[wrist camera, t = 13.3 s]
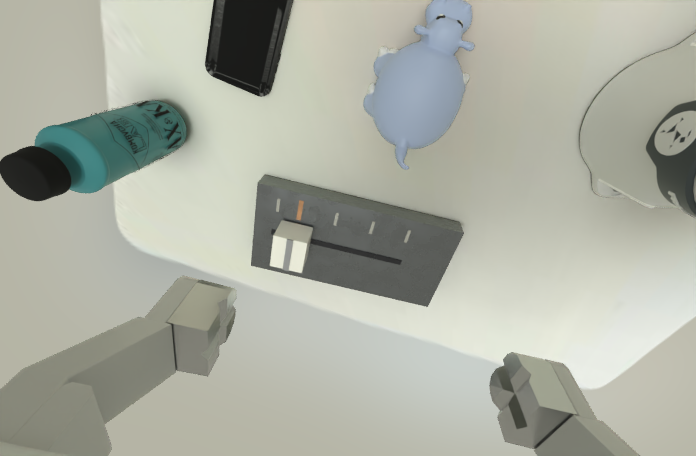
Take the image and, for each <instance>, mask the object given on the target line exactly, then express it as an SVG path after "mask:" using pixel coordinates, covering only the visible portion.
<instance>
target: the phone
mask: <svg viewBox="0 0 696 456" xmlns="http://www.w3.org/2000/svg"><path fill="white" fill-rule="evenodd" d="M292 3H293V0H214V3H213V10H212V17H211V25H210V32H209V39H208V46H207V54H206V61H205V67H206V70H207V72H208V73H209V74H210V75H211V76H213V77H215V78H217V79H219V80H222V81H224V82H227V83H229V84H231V85H234V86H236V87H238V88H241V89H243V90H245V91H248V92H250V93H252V94H255V95H257V96H260V97H262V96H265V95H267V94H269V93H270V91H271V88H272V84H273V82H274V76H275V73H276V70H277V66H278V62H279V59H280V55H281V54H280V52H281V48H282V44H283V40H284V36H285V32H286V28H287V24H288V20H289V16H290V12H291V7H292Z"/></svg>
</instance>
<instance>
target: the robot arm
mask: <svg viewBox="0 0 696 456" xmlns="http://www.w3.org/2000/svg"><path fill="white" fill-rule="evenodd" d="M580 149H581V154H582V156H583V159H584V161H585V162H586V164H587V166H588V167H589V169H590V171H591V173H592V189H593V191H594V193H595V194H597V195H599V196H602V197H611V198H628V199H632V200H634V201H636V202H638V203H640V204H642V205H643V206H645V207H648V208H655V207H662V208H679V209H680V210H682V211H683V212H685V213H686V214H688V215H690V216H692V217H694V218H696V33H694V34H693V35H691V36H690V37H688V38H687V39H685V40H684V41H683V42H681V43H680V44H679V45H677V46H675V47H672V48H670V49H667V50H664V51H661V52H658V53H656V54H653V55H650V56H648V57H646V58H643V59H641V60H639V61H638V62H636V63H634V64H632V65H631V66H629V67H628V68H626V69H625V70H623V71H622V72H621V73H619V74H618V75H617V76H616V77H615V78H613V79H612V80H611V81H610V82H609V83H608V84H607V85H606V86H605V87H604V88H603V89H602V91H601V92H600V93H599V94H598V96H597V97H596V98H595V100H594V101H593V103H592V104H591V106H590V108H589V109H588V111H587V114H586V116H585V118H584V121H583V124H582V127H581V132H580ZM235 300H236V289H234V288H231V287H227V286H223V285H219V284H215V283H212V282H207V281H204V280H199V279H195V278H191V277H187V276H182V277H180V278H178V279H177V280H176V281H175V282H174V284H173V285H172V286H171V287H170V288H169V290H168V291H167V292H166V293H165V294H164V295H163V297H162V298H161V299H160V300H159V301H158V302H157V304H156V305H155V306H154V307H153V308H152V310H151V311H150V312H149V313H148V314H147V315H146V316H145V318H142V317H137V318H135V319H133V320H130V321H128V322H126V323H124V324H122V325H119V326H117V327H115V328H113V329H111V330H108V331H106V332H104V333H101V334H99V335H97V336H95V337H93V338H90V339H88V340H86V341H84V342H82V343H79V344H77V345H75V346H73V347H70V348H68V349H66V350H64V351H62V352H59V353H57V354H55V355H53V356H50V357H48V358H46V359H44V360H42V361H39V362H37V363H35V364H33V365H31V366H28V367H26V368H24V369H22V370H21V371H20V372H19V373H18V374H17V375H16V376H14V377H13V378H12V379H11V380H10V381H9V382H8V383H7V384H6V385H5V386H4V387H2V388H1V389H0V456H108V455H109V453H110V452H111V450H112V447H111V442H110V439H109V436H108V433H107V430H106V427H105V424H106V423H107V422H108V421H110V420H111V419H113V418H114V417H115V416H117V415H118V414H119V413H121V412H122V411H124V410H125V409H126V408H127V407H129V406H130V405H131V404H133V403H135V402H136V401H137V400H139V399H140V398H141V397H143V396H144V395H145V394H147V393H148V392H150V391H151V390H152V389H153V388H155V387H156V386H158V385H159V384H161V383H162V382H163V381H165V380H166V379H167V378H169V377H170V376H171V375H173V374H174V373H175V372H176V370H177V371H182V372H187V373H193V374H198V375H203V376H208V375H209V373H210V371H211V370H212V368H213V366H214V364H215V362H216V360H217V358H218V356H219V346H220V345H221V344H223V343H225V342H226V340H227V338H228V336H229V334H230V332H231V329H232V326H233V324H234V319H235V312H236V311H235V310H236V309H235V308H234V306H233V303H234V301H235ZM503 361H504V366H502V367H499V368H497V369H496V370H495V371H494V373H493V374H492V376H491V380H490V394H491V397H492V401H493V402H494V404H495V405H496V406H497V407H498V408H499V410H500V412H499V415H498V421H499V424H500V427H501V430H502V434H503V437H504V440H505V442H508V443H512V444H516V445H520V446H524V447H528V448H532V449H535V450H534V451H535V453H536V454H537V455H538V456H640V455H639V454H637V453H636V452H635V451H634V450H633V449H632V448H631V447H630V446H629V445H627V443H626V442H625V441H623V440H622V439H621V438H620V437H619V436H618V435H617V434H616V433H615V432H614V431H613V430H612V429H611V428H609V427H608V426H607V425H606V424H605V423H604V422H603V421H599V420H597V418H596V416H595V415H594V413H593V411H592V409H591V408H590V406H589V404H588V402H587V401H586V399H585V397H584V395H583V394H582V392H581V390H580V388H579V387H578V385H577V383H576V381H575V380H574V378H573V376H572V374H571V372H570V371H569V369H568V368H567V367H566V366H565V365H564V364H563V363H559V362H554V361H550V360H544V359H541V358H536V357H532V356H527V355H523V354H518V353H513V352H511V353H509V354H507V355H506V357H505V358H504V359H503Z"/></svg>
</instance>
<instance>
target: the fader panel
mask: <svg viewBox="0 0 696 456" xmlns="http://www.w3.org/2000/svg"><path fill="white" fill-rule="evenodd" d="M282 220H284V221H288V222H292V223H296V224H301V225H305V226H309V227H313V231H312V236H311V241H310V246H309V251H308V256H307V259H306V262H305V265H304V268H303V271H302V273H298V272H294V271H290V270H289V271H285V270H282V269H281V268H277V267H273V266H270V259H271V251H272V243H273V235H274V233H275V232H276V230H277V228H278V226H279V224H280V222H281V221H282ZM463 234H464V232H463V230H462V227H461V225H460V222H457V221H453V220H449V219H445V218H441V217H437V216H433V215H429V214H425V213H420V212H416V211H412V210H408V209H404V208H400V207H396V206H392V205H388V204H384V203H380V202H375V201H371V200H367V199H363V198H359V197H355V196H351V195H347V194H343V193H339V192H335V191H330V190H326V189H322V188H318V187H314V186H310V185H306V184H302V183H298V182H294V181H290V180H285V179H281V178H277V177H273V176H269V175H264V176H263V177H262V179H261V180H260V181H259V182H258V186H257V199H256V211H255V223H254V235H253V248H252V260H251V266H255V267H260V268H264V269H268V270H272V271H277V272H281V273H285V274H289V275H294V276H298V277H302V278H307V279H311V280H315V281H319V282H324V283H328V284H332V285H337V286H341V287H345V288H349V289H354V290H358V291H362V292H366V293H371V294H375V295H379V296H384V297H388V298H392V299H396V300H401V301H405V302H409V303H413V304H418V305H422V306H426V307H428V305H429V303H430V301H431V299H432V297H433V295H434V293H435V291H436V289H437V287H438V285H439V283H440V281H441V279H442V277H443V275H444V273H445V271H446V269H447V267H448V265H449V263H450V260H451V258H452V256H453V254H454V252H455V250H456V248H457V246H458V244H459V242H460V240H461V238H462V236H463Z"/></svg>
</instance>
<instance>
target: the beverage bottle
mask: <svg viewBox="0 0 696 456" xmlns="http://www.w3.org/2000/svg"><path fill="white" fill-rule="evenodd" d="M141 102H142V103H139V104H138V102H137V104H136V103H135V104H134V103H133V104H134V105H131V106H124V107H123V106H122V107H123V108H120V109H117V108H116V110H113V109H115V108H113V109H112V111H108V112H104V113H99V114H96V115H93V116H90V117H86V118H82V119H79V120H75V121H71V122H68V123H64V124H60V125H52V126H48V127H46V128H43V129H42V130H41V131H40V132H39V133H38V135H37V136H36V139H35V146H29V147H26V148H22V149H20V150H18V151H17V152H15V153H12V154H9V155H7V156H5V157H4V158H3V159H2V160H1V161H0V174H1V176H2V178H3V180H4V181H5V183H6V184H7V185H8V186H9V187H10V188H11V189H12V190H13V191H14V192H16V193H17V194H18V195H20V196H22V197H24V198H26V199H29V200H33V201H43V200H46V199H49V198H51V197H54V196H58V195H60V194H63V193H65V192H67V191H68V190H69V189H70V190H72V191H75V192H79V193H93V192H97V191H99V190H100V189H102V188H103V187H105V186H107V185H109V184H110V183H112V182H114V181H116V180H118V179H120V178H122V177H124V176H126V175H128V174H130V173H132V172H135V171H137V170H140V168H143V167H144V166H146V165H148V166H149V164H150V165H151V164H152V163H153V162H154V161H155V162H156V160H158V159H159V160H160V159H162V158H161V157H163V156H165V155H167V154H169V153H171V152H173V151H175V150H176V149H178V148H179V147H181V145H182V144H184V141H185V139H186V126H185V123H184V121H183V119H182V117H181V115H180V114H179V113H178V112H177V111H176V110H175V109H174V108H173V107H171V106H170V105H168V104H166V103H164V102H161V101H158V100H157V101H145V102H143V101H141ZM129 105H130V104H129ZM109 110H110V109H109ZM91 115H92V114H91ZM182 146H183V145H182ZM173 153H174V152H173ZM171 154H172V153H171ZM169 155H170V154H169ZM167 156H168V155H167ZM165 157H166V156H165ZM163 158H164V157H163Z"/></svg>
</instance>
